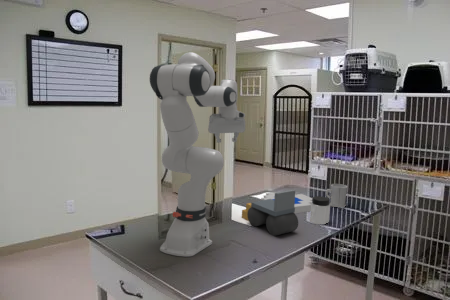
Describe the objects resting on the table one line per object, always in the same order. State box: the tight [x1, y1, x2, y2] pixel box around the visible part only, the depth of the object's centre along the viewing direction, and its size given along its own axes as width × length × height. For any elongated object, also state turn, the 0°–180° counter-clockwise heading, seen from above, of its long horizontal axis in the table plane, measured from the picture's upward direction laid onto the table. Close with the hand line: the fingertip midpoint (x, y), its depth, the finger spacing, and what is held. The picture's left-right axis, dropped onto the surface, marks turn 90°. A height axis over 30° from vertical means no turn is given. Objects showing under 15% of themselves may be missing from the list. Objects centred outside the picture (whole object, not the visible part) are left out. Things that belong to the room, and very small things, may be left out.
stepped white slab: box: [260, 191, 313, 214], centre depth 200 cm, size 28×4×28 cm
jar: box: [309, 195, 331, 225], centre depth 173 cm, size 9×8×12 cm
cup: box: [325, 183, 348, 208], centre depth 201 cm, size 10×9×12 cm
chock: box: [241, 202, 251, 222], centre depth 174 cm, size 7×6×8 cm
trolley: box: [247, 189, 299, 237], centre depth 162 cm, size 22×12×19 cm, turn 36°
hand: (226, 142), depth 174 cm, fingers open, 8 cm apart
